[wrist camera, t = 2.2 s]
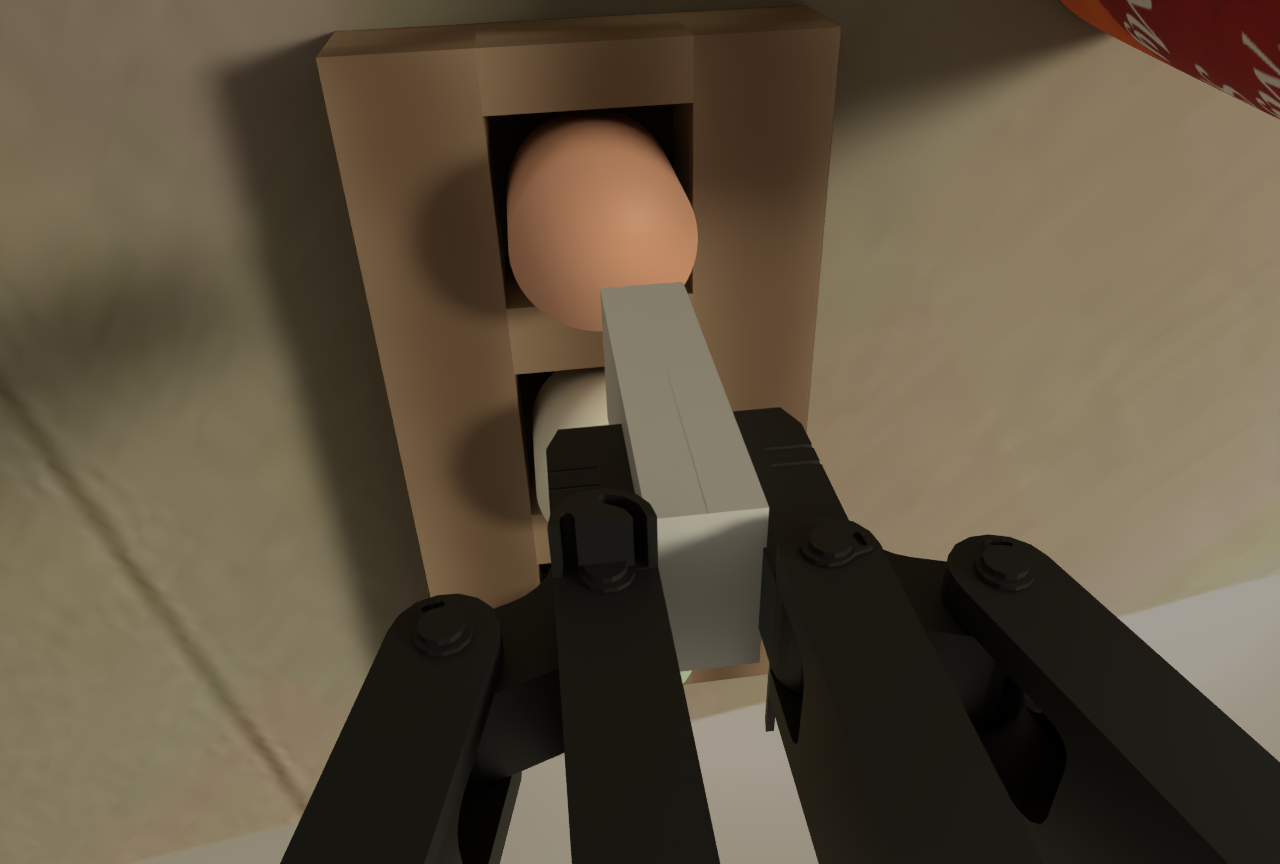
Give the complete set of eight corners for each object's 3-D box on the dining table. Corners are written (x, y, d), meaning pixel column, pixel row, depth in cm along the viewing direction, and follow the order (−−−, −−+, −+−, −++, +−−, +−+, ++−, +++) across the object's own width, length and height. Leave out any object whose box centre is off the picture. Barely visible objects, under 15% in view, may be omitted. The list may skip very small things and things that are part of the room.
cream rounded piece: (538, 481, 29) (543, 556, 26) (524, 360, 27) (528, 428, 24) (675, 467, 30) (696, 539, 27) (674, 347, 27) (696, 412, 24)
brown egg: (515, 277, 25) (518, 339, 22) (497, 113, 23) (497, 158, 20) (674, 264, 26) (697, 323, 23) (672, 102, 23) (698, 144, 20)
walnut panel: (457, 649, 35) (454, 712, 33) (334, 31, 23) (315, 57, 20) (765, 613, 36) (785, 671, 34) (805, 5, 24) (841, 27, 22)
